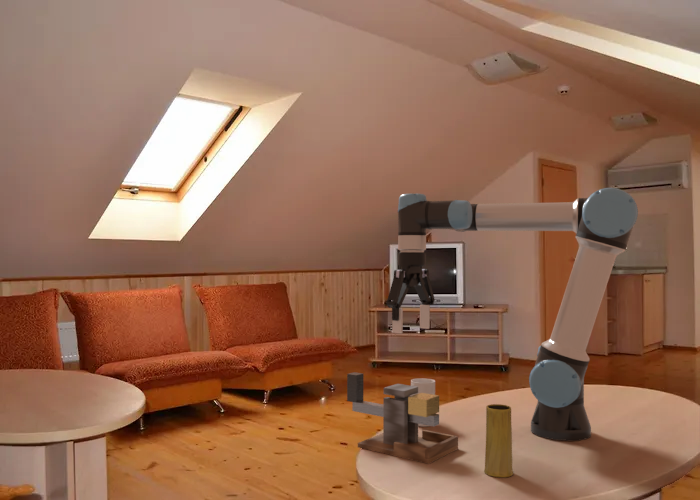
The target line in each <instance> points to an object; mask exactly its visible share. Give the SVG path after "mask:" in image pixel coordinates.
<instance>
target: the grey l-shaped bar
mask: <svg viewBox="0 0 700 500" xmlns="http://www.w3.org/2000/svg"><path fill="white" fill-rule="evenodd" d="M346 375H347V376H346V379H347V381H346V383H347V384H346V387H347V388H346V389H347V391H346V398H347V399H346V401H347V402H351V403H352V410H351V411H352V412H356V413H362V414H367V415H371V416H377V417H380V418H381V417H382V418H383V403H377V402H372V401H366V400H364V373H361V372H356V371H355V372H350V373H347V374H346ZM408 422H413V423H418V424H423V425H429V426H428V427H436V426H438V425H440V414H439V413H436V414H433V415H431V416H428V417H423V416H417V415H412V414H408Z"/></svg>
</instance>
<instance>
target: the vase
mask: <svg viewBox="0 0 700 500" xmlns="http://www.w3.org/2000/svg"><path fill="white" fill-rule="evenodd" d="M485 410H486V411H485V414H486V415H485V416H486V417H485V418H486V423H485V425H486V427H485V428H486V429H485V430H486V431H485V454H484V455H485V457H484V474H486V475H487V476H489V477H493V478H499V479H500V478H501V479H503V478H504V479H505V478H509V477H512V476H513V475H514V471H513V438H512V437H513V436H512V435H513V433H512V432H513V431H512V430H513V429H512V407H511V406H510V405H507V404H499V403H498V404H497V403H494V404H488V405H486V409H485Z"/></svg>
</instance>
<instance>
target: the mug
mask: <svg viewBox="0 0 700 500" xmlns="http://www.w3.org/2000/svg"><path fill="white" fill-rule="evenodd" d="M410 386H416V387H418V393H416V394H419V393H426V394H433V395H436V380H435V379H432V378H412V379H410ZM416 394H413V395H416ZM413 395H410V396H413ZM418 427H420V428H421V427H423V428H424V427H430V426H429V425H423V424H418Z"/></svg>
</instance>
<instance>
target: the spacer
mask: <svg viewBox="0 0 700 500" xmlns="http://www.w3.org/2000/svg"><path fill="white" fill-rule="evenodd" d="M439 413H440V394H439V395H437V394H435V395H433V394H426V393H419V394H416V395H413V396H411V395H410V397H408V414H412V415H417V416H423V417H428V416H431V415H433V414H439Z"/></svg>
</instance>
